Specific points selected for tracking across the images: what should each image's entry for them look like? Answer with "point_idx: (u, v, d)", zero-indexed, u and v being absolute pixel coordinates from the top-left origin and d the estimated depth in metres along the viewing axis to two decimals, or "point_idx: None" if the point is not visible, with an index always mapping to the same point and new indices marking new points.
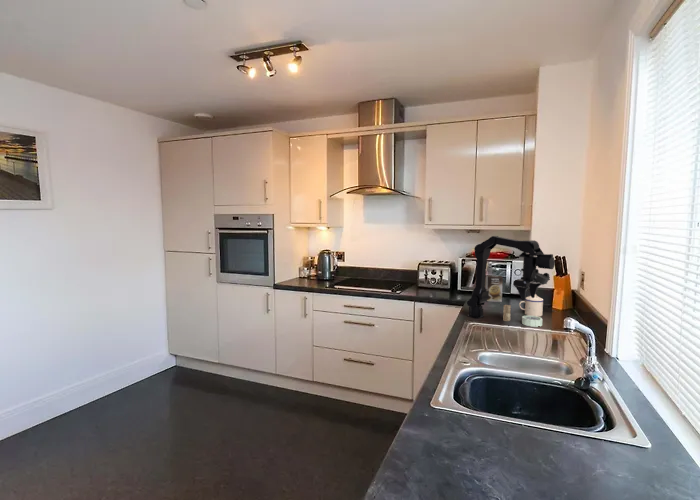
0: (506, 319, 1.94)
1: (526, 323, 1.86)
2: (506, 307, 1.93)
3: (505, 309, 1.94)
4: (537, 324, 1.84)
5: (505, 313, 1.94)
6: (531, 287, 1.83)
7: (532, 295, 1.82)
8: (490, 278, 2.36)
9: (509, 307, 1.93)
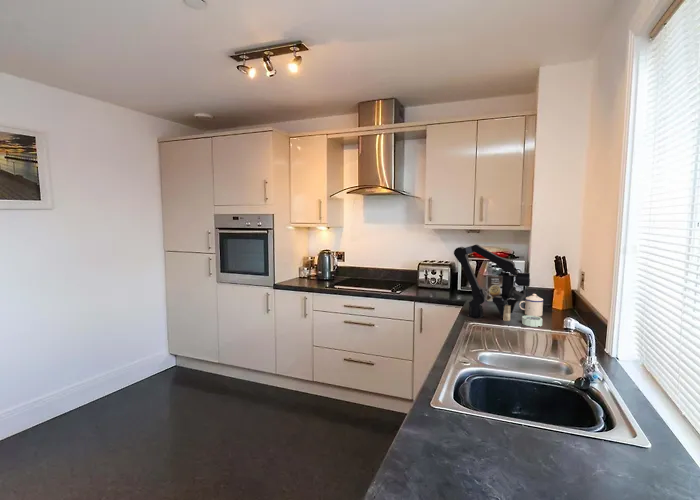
0: (506, 319, 1.94)
1: (526, 323, 1.86)
2: (506, 307, 1.93)
3: (505, 309, 1.94)
4: (537, 324, 1.84)
5: (505, 313, 1.94)
6: (510, 303, 1.98)
7: None
8: (490, 278, 2.36)
9: (509, 307, 1.93)
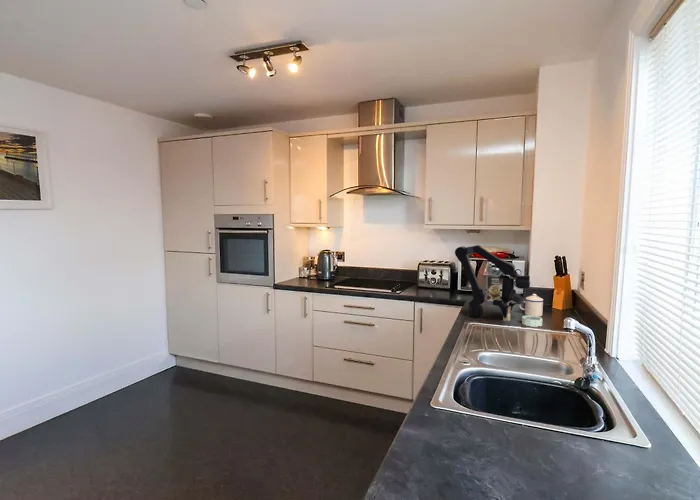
0: (506, 319, 1.94)
1: (526, 323, 1.86)
2: None
3: None
4: (537, 324, 1.84)
5: None
6: None
7: None
8: (490, 278, 2.36)
9: (509, 307, 1.93)
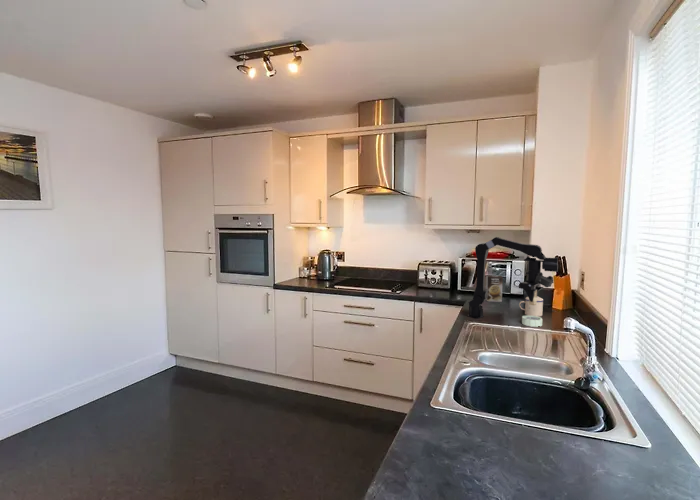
0: (532, 303, 1.86)
1: (526, 323, 1.86)
2: None
3: None
4: (537, 324, 1.84)
5: None
6: None
7: None
8: (490, 278, 2.36)
9: (535, 291, 1.86)
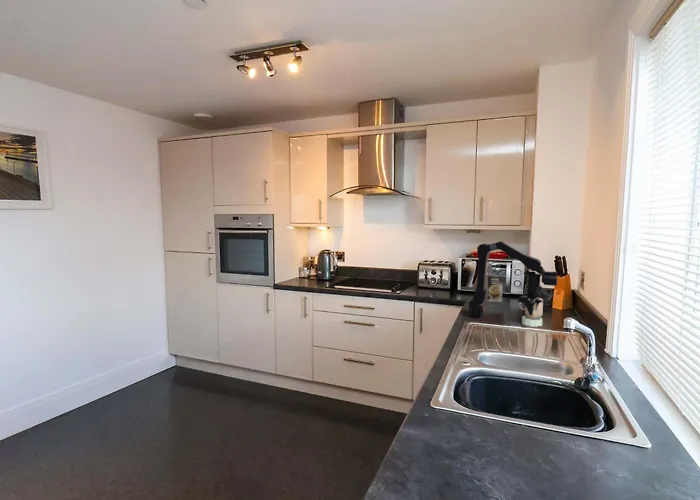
0: (532, 317, 1.87)
1: (526, 323, 1.86)
2: None
3: None
4: (537, 324, 1.84)
5: None
6: None
7: None
8: (490, 278, 2.36)
9: (535, 304, 1.86)
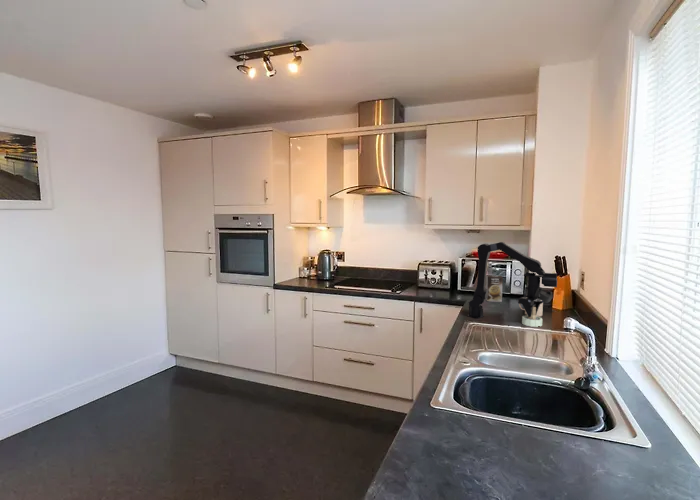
0: None
1: (526, 323, 1.86)
2: None
3: None
4: (537, 324, 1.84)
5: None
6: None
7: None
8: (490, 278, 2.36)
9: (534, 309, 1.86)
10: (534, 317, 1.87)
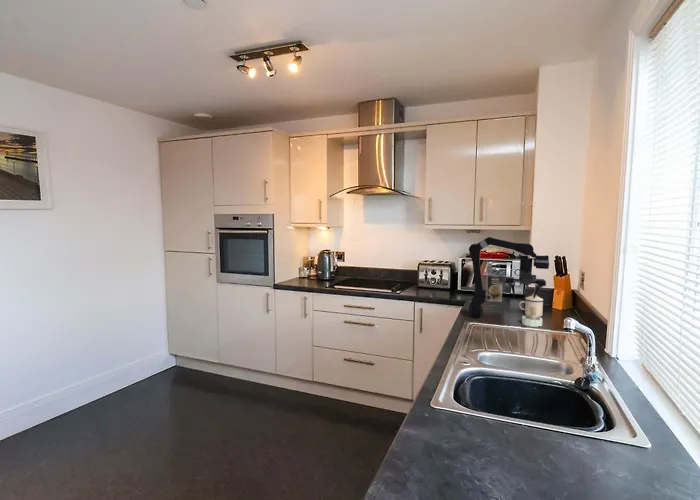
0: None
1: (526, 323, 1.86)
2: (531, 309, 1.86)
3: (530, 311, 1.87)
4: (537, 324, 1.84)
5: (530, 315, 1.87)
6: None
7: (533, 296, 1.91)
8: (490, 278, 2.36)
9: (534, 309, 1.86)
10: (534, 317, 1.87)
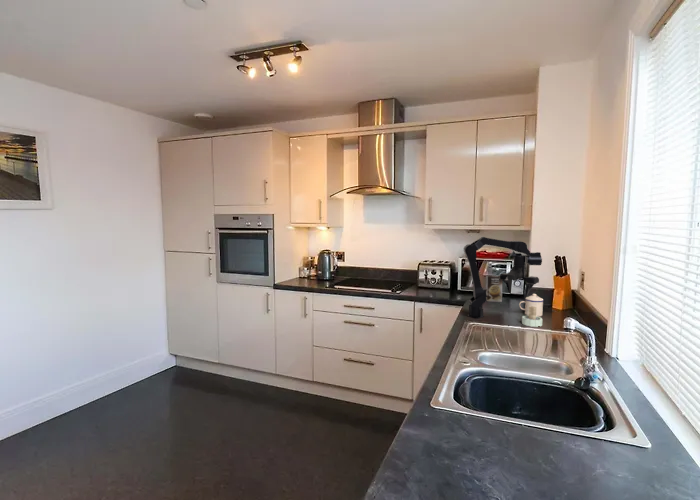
0: None
1: (526, 323, 1.86)
2: (531, 309, 1.86)
3: (530, 311, 1.87)
4: (537, 324, 1.84)
5: (530, 315, 1.87)
6: None
7: None
8: (490, 278, 2.36)
9: (534, 309, 1.86)
10: (534, 317, 1.87)
